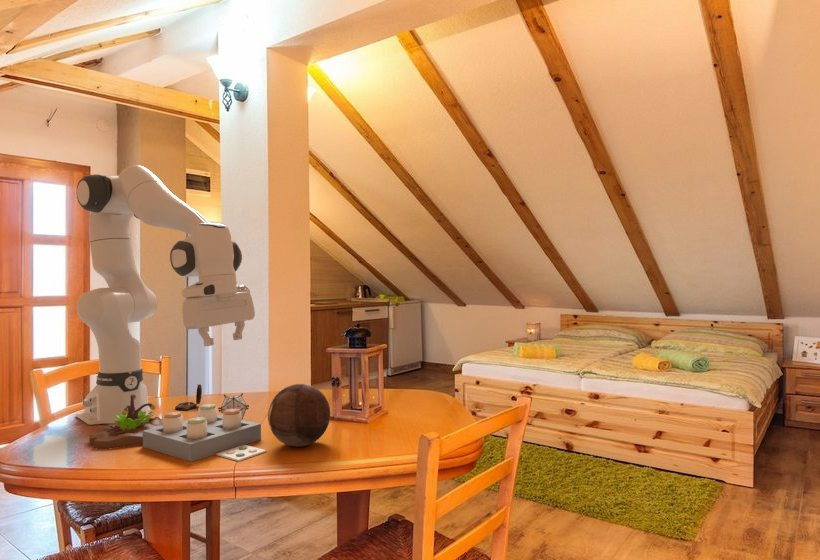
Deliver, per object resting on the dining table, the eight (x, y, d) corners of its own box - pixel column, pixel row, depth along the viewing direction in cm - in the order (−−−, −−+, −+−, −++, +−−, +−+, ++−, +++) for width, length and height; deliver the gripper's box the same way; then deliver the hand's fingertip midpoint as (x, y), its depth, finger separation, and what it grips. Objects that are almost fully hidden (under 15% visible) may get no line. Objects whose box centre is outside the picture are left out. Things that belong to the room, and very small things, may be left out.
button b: (195, 427, 146) (194, 406, 146) (210, 423, 150) (209, 402, 150) (205, 430, 144) (205, 408, 143) (220, 426, 147) (220, 405, 147)
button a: (159, 437, 138) (158, 414, 138) (176, 432, 142) (175, 410, 142) (169, 440, 135) (169, 417, 135) (186, 435, 139) (186, 413, 139)
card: (216, 455, 130) (216, 452, 130) (244, 446, 137) (244, 444, 137) (238, 461, 126) (238, 459, 126) (266, 451, 132) (266, 449, 132)
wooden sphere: (334, 435, 145) (333, 378, 144) (325, 454, 130) (324, 390, 129) (276, 436, 145) (275, 379, 144) (261, 455, 130) (260, 391, 129)
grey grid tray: (142, 447, 137) (142, 430, 137) (212, 427, 154) (212, 413, 154) (191, 461, 126) (190, 444, 126) (261, 439, 142) (260, 423, 142)
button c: (182, 443, 132) (182, 420, 132) (199, 438, 136) (199, 416, 136) (194, 447, 130) (193, 423, 130) (211, 441, 133) (211, 418, 133)
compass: (174, 407, 179) (174, 384, 179) (200, 404, 182) (200, 382, 182) (176, 413, 172) (175, 389, 171) (203, 409, 175) (202, 386, 175)
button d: (218, 433, 140) (218, 411, 140) (233, 429, 144) (233, 407, 144) (230, 436, 138) (229, 413, 138) (245, 431, 142) (245, 409, 142)
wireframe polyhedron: (237, 436, 158) (237, 413, 152) (211, 424, 160) (210, 401, 154) (255, 414, 165) (255, 391, 159) (230, 403, 167) (230, 380, 161)
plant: (176, 424, 160) (176, 385, 160) (172, 443, 141) (171, 399, 141) (98, 431, 153) (97, 391, 153) (82, 453, 135) (81, 406, 134)
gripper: (239, 285, 149) (244, 336, 149) (175, 291, 131) (181, 349, 131) (257, 283, 146) (262, 336, 146) (194, 289, 128) (200, 349, 128)
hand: (223, 342), depth 138 cm, fingers open, 8 cm apart
